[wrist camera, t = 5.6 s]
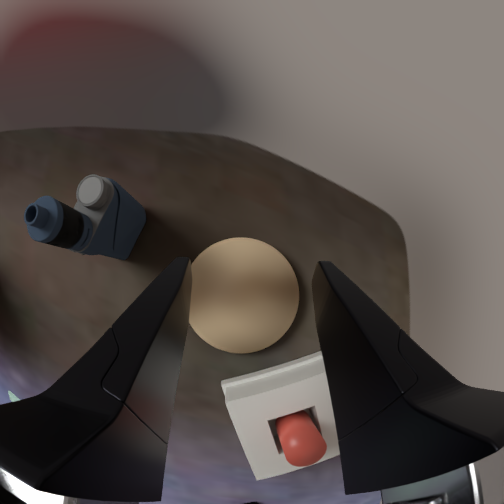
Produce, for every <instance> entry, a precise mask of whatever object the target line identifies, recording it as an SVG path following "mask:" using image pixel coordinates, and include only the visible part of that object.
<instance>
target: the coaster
mask: <svg viewBox="0 0 504 504" xmlns="http://www.w3.org/2000/svg"><path fill="white" fill-rule="evenodd" d="M191 270H192V291H191V302H190V314H189V323H190V325H191V326H192V328H193V329H194V331H195V332H196V333H197V334H198V335H199V336H200V337H201V338H202V339H203V340H204V341H206V342H207V343H208V344H210V345H212V346H213V347H215V348H218V349H220V350H223V351H226V352H231V353H251V352H256V351H259V350H262V349H264V348H266V347H268V346H270V345H272V344H273V343H275V342H276V341H278V340H279V339H280V338H281V337H282V336H283V335H284V334H285V333H286V332H287V330H288V329H289V327H290V326H291V324H292V322H293V320H294V318H295V316H296V313H297V309H298V304H299V287H298V282H297V278H296V276H295V273H294V271H293V269H292V267H291V265H290V264H289V262H288V261H287V259H286V258H285V257H284V256H283V255H282V254H281V253H280V252H279V251H277V250H276V249H275V248H273V247H272V246H270V245H268V244H266V243H264V242H262V241H259V240H256V239H251V238H241V237H240V238H230V239H225V240H223V241H220V242H217V243H215V244H213V245H211V246H210V247H208V248H207V249H205V250H204V251H203V252H202V253H201V254H199V256H198V257H197V258H196V259H195V260H194V262H193V263H192V265H191Z"/></svg>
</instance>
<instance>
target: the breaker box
mask: <svg viewBox="0 0 504 504" xmlns="http://www.w3.org/2000/svg"><path fill="white" fill-rule="evenodd" d="M221 386H222V389H223V392H224V394H225V403H226V406H227V409H228V411H229V414H230V417H231V419H232V422H233V424H234V427H235V430H236V432H237V435H238V437H239V440H240V442H241V445H242V447H243V449H244V452H245V454H246V457H247V459H248V461H249V464H250V466H251V468H252V470H253V473H254V475H255V477H256V479H257V480H261V479H266V478H270V477H274V476H277V475H281V474H285V473H288V472H292V471H295V470H298V469H301V468H304V467H308V466H304V467H297V466H293V465H291V464H290V463H289V462H288V461H287V460H286V457H285V454H284V452H283V449H282V446H281V443H280V440H279V437H278V434H277V431H276V428H275V422H276V419H277V418H278V417H282V416H285V415H288V414H291V413H294V412H297V411H300V410H304V411H306V412H307V414H308V415H309V417H310V418H311V420H312V421H313V423H314V425H315V426H316V428H317V429H318V431H319V433H320V434H321V436H322V437H323V439H324V440H325V442H326V444H327V450H326V453H325V455H324V456H323V457H322V458H321V459H320V460H319V461H318V462H316V463H319V462H322V461H325V460H327V459H330V458H332V457H335V456H337V455H340V451H339V445H338V438H337V432H336V426H335V420H334V414H333V408H332V403H331V397H330V392H329V387H328V381H327V376H326V371H325V366H324V361H323V357H322V352H321V351H319V352H316V353H314V354H311V355H308V356H305V357H302V358H299V359H296V360H293V361H290V362H287V363H284V364H281V365H277V366H274V367H271V368H267V369H264V370H260V371H257V372H253V373H250V374H246V375H242V376H238V377H234V378H230V379H226V380H222V381H221ZM316 463H314V464H316ZM312 465H313V464H312ZM309 466H310V465H309Z"/></svg>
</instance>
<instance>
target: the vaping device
mask: <svg viewBox="0 0 504 504" xmlns="http://www.w3.org/2000/svg"><path fill="white" fill-rule="evenodd" d="M76 196H77V200H78V201H77V203H76V205H75V207H74V209H73V208H71V207H69V206H68V205H66V204H64V203H62V202H60V201H58V200H56V199H54V198H52V197H50V196H43V197H41V198H39V199H38V200H36V201H35V203H32V204H30V205H29V206H28V207H27V208H26V210H25V214H24V220H25V223H26V224H27V229H28V232H29V235H30V236H31V238H32V239H33V240H35V241H38V242H42V243H46V244H50V245H54V246H58V247H62V248H66V249H69V250H71V251H73V252H79V253H80V254H82V255H85V254H87V255H98V254H100V255H104V256H108V257H113V258H117V259H121V260H126V259H127V258H128V256H129V255H130V252H131V250H132V248H133V246H134V244H135V242H136V240H137V238H138V236H139V234H140V232H141V230H142V228H143V226H144V225H145V222H146V213H145V210H144V208H143V207H142V205H141V204H140V203H139V202H137V201H136V200H135V199H134V198H133V197H132V196H131V195H130V194H129V193H128V192H127V191H125V190H124V189H123V188H122V187H121V186H120V185H119V184H118V183H117V182H115V181H114V180H112V179H109V178H105V177H100V176H98V175H94V174H93V175H89V176H86V177H85V178H84V179H83V180H82V181H81V182H80V184H79V186H78V188H77V192H76Z"/></svg>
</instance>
